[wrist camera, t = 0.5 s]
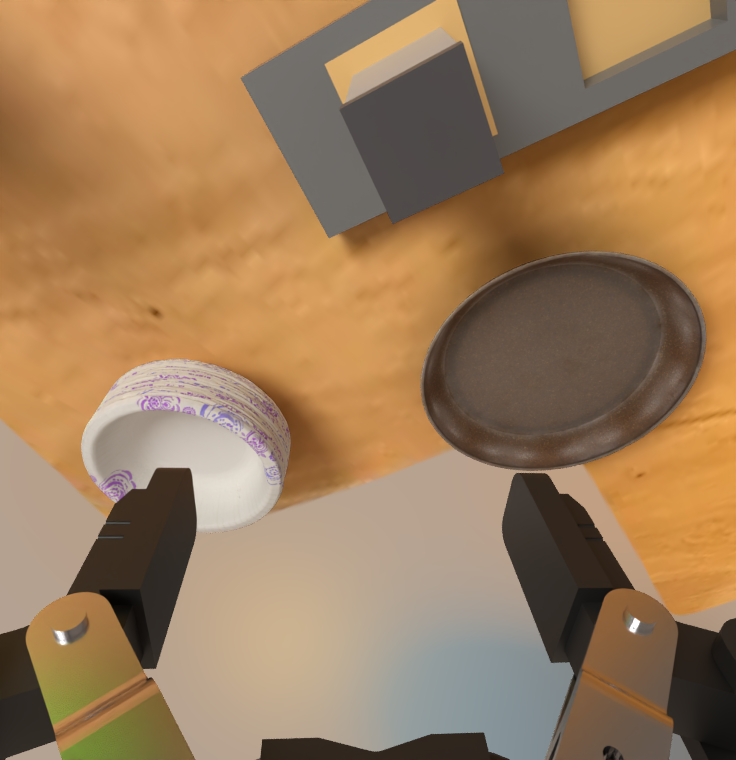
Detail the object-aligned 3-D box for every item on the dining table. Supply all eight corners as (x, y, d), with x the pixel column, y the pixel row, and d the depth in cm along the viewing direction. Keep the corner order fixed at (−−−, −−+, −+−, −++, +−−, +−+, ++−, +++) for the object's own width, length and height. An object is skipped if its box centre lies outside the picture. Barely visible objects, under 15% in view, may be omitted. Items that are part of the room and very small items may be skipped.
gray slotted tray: (248, 71, 30) (193, 114, 21) (727, -214, 23) (943, -328, 14) (331, 225, 35) (314, 309, 27) (738, 33, 28) (899, 61, 20)
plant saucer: (711, 389, 44) (732, 415, 41) (483, 474, 51) (488, 502, 48) (646, 172, 33) (669, 189, 31) (369, 319, 40) (369, 343, 38)
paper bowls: (108, 437, 48) (68, 506, 42) (135, 307, 40) (89, 369, 34) (266, 485, 52) (250, 555, 46) (322, 375, 43) (312, 443, 37)
